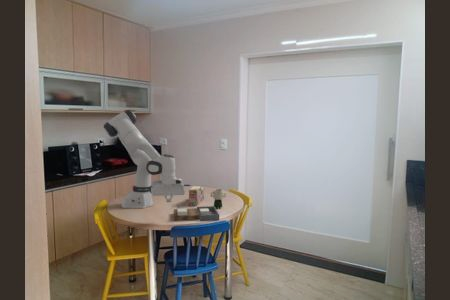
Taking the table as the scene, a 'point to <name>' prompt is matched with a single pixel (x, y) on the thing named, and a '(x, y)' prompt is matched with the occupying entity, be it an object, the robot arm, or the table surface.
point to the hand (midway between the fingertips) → (168, 201)
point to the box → (212, 214)
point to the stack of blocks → (196, 195)
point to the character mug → (218, 197)
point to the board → (191, 215)
